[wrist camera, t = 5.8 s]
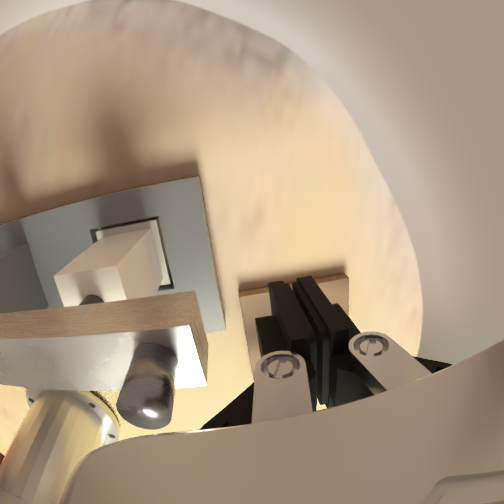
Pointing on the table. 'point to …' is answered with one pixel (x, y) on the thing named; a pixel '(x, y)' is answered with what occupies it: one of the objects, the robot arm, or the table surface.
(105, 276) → the plug
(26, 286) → the socket block
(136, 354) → the bolt
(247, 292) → the pad
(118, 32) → the table surface
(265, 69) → the table surface
